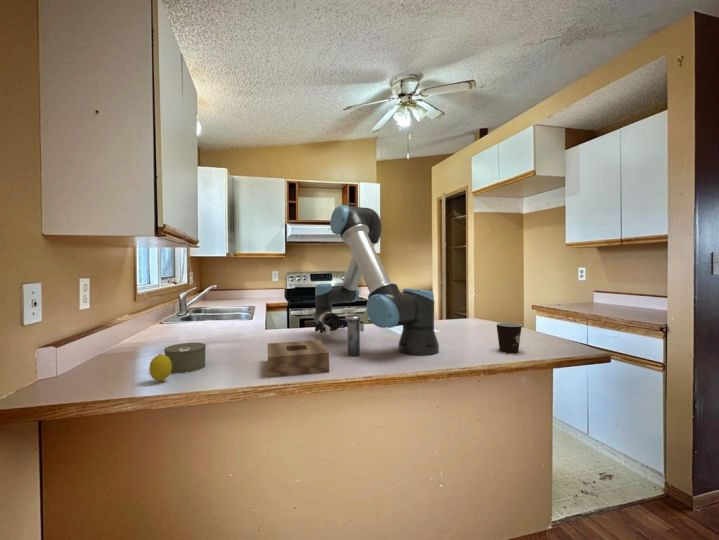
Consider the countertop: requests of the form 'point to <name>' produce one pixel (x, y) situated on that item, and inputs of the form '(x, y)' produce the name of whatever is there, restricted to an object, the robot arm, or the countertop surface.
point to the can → (186, 357)
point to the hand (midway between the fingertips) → (346, 329)
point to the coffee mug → (509, 337)
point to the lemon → (160, 367)
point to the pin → (353, 334)
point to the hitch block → (297, 358)
